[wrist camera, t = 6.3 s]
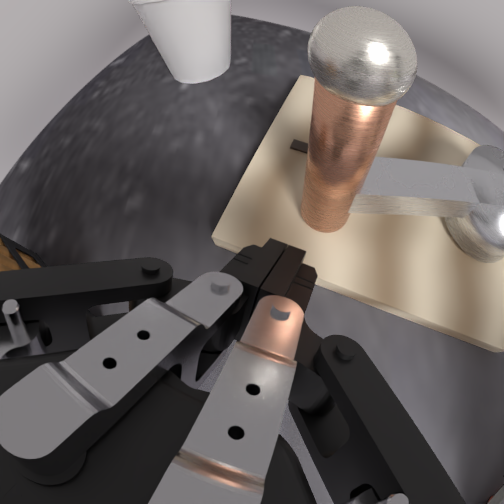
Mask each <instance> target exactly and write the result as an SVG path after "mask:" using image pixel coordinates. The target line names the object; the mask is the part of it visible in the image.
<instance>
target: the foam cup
mask: <svg viewBox="0 0 504 504" xmlns="http://www.w3.org/2000/svg"><path fill="white" fill-rule="evenodd" d="M128 2H129V3H132V5H133V6H134V8H135V10H136V12H137V13H138V15H139V17H140V19H141V20H142V22H143V24H144V26H145V27H146V29H147V31H148V33H149V35H150V36H151V38H152V40H153V42H154V43H155V45H156V47H157V49H158V51H159V52H160V54H161V56H162V58H163V60H164V61H165V63H166V65H167V67H168V69H169V70H170V72H171V74H172V75H173V76H174V79H175V80H177V81H179V82H181V83H191V84H196V83H200V82H205V81H209V80H211V79H214V78H216V77H218V76H220V75H222V74H223V73H224V72H225V71H226V70H227V69H228V68H229V65H230V62H231V60H230V58H231V0H128Z"/></svg>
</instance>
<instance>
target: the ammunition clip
mask: <svg viewBox="0 0 504 504" xmlns="http://www.w3.org/2000/svg"><path fill="white" fill-rule="evenodd" d="M40 267H47V266H46V265H45V264H44V262H43V261H42V260H41V259H40V258H39V256H38V255H37V254H36V253H34V252H32V251H30V250H28V249H27V248H25V247H23V246H21V245H19V244H18V243H16V242H14V241H12V240H10V239H9V238H7V237H5V236H3V235H2V234H0V271H10V270H20V269H30V268H40ZM86 314H87V315H88V316H91V317H94V316H93V315H92V314H91V313H90V312H89V311H88V310H87V312H86Z"/></svg>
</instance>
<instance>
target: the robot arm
mask: <svg viewBox="0 0 504 504" xmlns="http://www.w3.org/2000/svg"><path fill="white" fill-rule="evenodd" d="M305 255H306V251H305V250H302V249H299V248H297V247H294V246H291V245H288V244H286V243H283V242H281V241H278V240H275V239H272V238H270V239H269V240H268V241H267V242H266V243H265V244H264V246H263V247H259V246H257V245H254V244H253V245H250V246H247V247H244V248H243V249H242V250H241V251H240V252H239V253H238V254H237V255H236V256H235V257H234V258H233V259H232V260H231V261H230V262H229V263H228V264H227V265H226V266H225V267H224V268H223V269H222V270H221V271H220V272H208V273H205V274H203V275H201V276H200V277H198V278H197V279H196V280H194V281H193V282H191V281H186V280H181V279H176V278H172V277H173V269H172V267H171V266H170V265H169V264H168V263H167V262H165V261H163V260H161V259H158V258H151V257H147V258H135V259H124V260H114V261H103V262H92V263H82V264H71V265H61V266H51V267H40V268H30V269H20V270H10V271H0V504H317V503H316V500H315V498H314V495H313V493H312V491H311V488H310V486H309V484H308V481H307V479H306V476H305V474H304V471H303V469H302V467H301V464H300V462H299V460H298V457H297V456H296V454H295V452H294V451H293V449H292V448H291V446H290V445H289V444H288V443H287V441H286V440H285V439H284V438H283V437H282V436H281V435H280V434H279V431H280V427H281V424H282V420H283V416H284V413H285V409H286V405H287V401H288V400H289V404H288V406H289V410H290V412H291V415H292V417H293V419H294V421H295V423H296V425H297V428H298V430H299V432H300V434H301V436H302V438H303V440H304V443H305V445H306V447H307V449H308V451H309V453H310V455H311V457H312V460H313V462H314V464H315V466H316V468H317V470H318V472H319V474H320V476H321V478H322V480H323V482H324V484H325V486H326V488H327V491H328V493H329V495H330V497H331V499H332V501H333V503H334V504H466V503H465V501H464V500H463V498H462V497H461V495H460V493H459V492H458V490H457V488H456V487H455V485H454V484H453V482H452V480H451V479H450V477H449V476H448V474H447V472H446V471H445V469H444V468H443V466H442V465H441V463H440V461H439V460H438V458H437V457H436V455H435V454H434V452H433V451H432V449H431V448H430V446H429V444H428V443H427V441H426V440H425V438H424V437H423V435H422V434H421V432H420V431H419V429H418V428H417V426H416V425H415V423H414V422H413V420H412V419H411V417H410V416H409V414H408V413H407V411H406V410H405V408H404V407H403V405H402V404H401V403H400V401H399V400H398V398H397V397H396V395H395V394H394V392H393V391H392V389H391V388H390V387H389V385H388V384H387V382H386V381H385V379H384V378H383V376H382V375H381V374H380V372H379V371H378V369H377V368H376V366H375V365H374V364H373V362H372V361H371V359H370V358H369V357H368V355H367V354H366V352H365V351H364V349H363V348H362V347H361V346H360V345H359V344H358V343H357V342H355V341H354V340H352V339H350V338H348V337H345V336H342V335H331V336H328V337H326V338H324V339H322V338H321V337H319V336H318V335H317V334H315V333H314V332H313V331H312V330H311V329H310V328H309V327H308V325H307V324H306V322H305V318H304V314H305V311H306V308H307V305H308V302H309V299H310V297H311V294H312V291H313V288H314V285H315V282H316V279H317V276H318V275H317V273H316V270H315V268H314V267H312V266H309V265H307V264H304V263H303V261H304V258H305ZM125 301H129V312H128V313H121V314H114V315H106V316H98V317H91V316H88V315H87V314H86V312H87V310H88V309H89V308H90V307H92V306H94V305H101V304H109V303H117V302H125ZM234 339H235V340H237V342H236V343H235V345H234V347H233V349H232V351H231V353H230V355H229V357H228V359H227V361H226V363H225V365H224V367H223V369H222V371H221V373H220V375H219V377H218V379H217V381H216V383H215V385H214V387H213V389H212V391H211V393H209V392H205V391H202V390H198V388H199V387H200V386H201V384H202V383H203V382H204V381H205V380H206V378H207V377H208V376H209V375H210V373H211V372H212V371H213V370H214V369H215V367H216V366H217V365H218V364H219V362H220V361H221V360H222V359H223V357H224V356H225V355H226V352H227V349H228V347H229V346H230V344H231V343H232V341H233V340H234Z"/></svg>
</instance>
